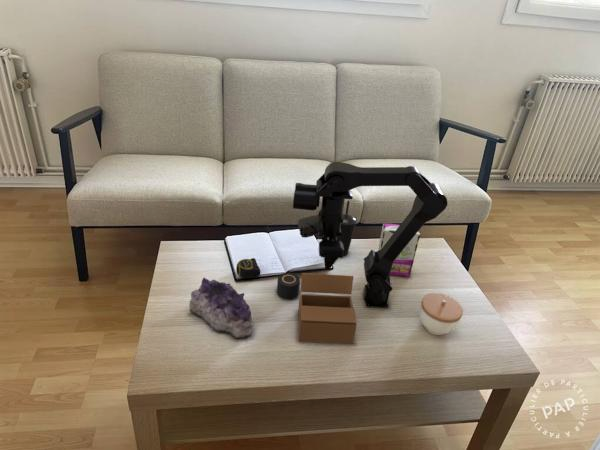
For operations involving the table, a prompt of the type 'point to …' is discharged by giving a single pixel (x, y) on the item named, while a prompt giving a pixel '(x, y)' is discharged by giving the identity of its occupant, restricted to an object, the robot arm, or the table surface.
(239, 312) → the geode
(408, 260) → the candy bar box
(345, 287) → the flap
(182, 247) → the table surface
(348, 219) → the drinking cup
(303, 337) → the carton
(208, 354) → the table surface
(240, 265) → the tape measure
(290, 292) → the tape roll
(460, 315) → the trinket box
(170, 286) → the table surface
